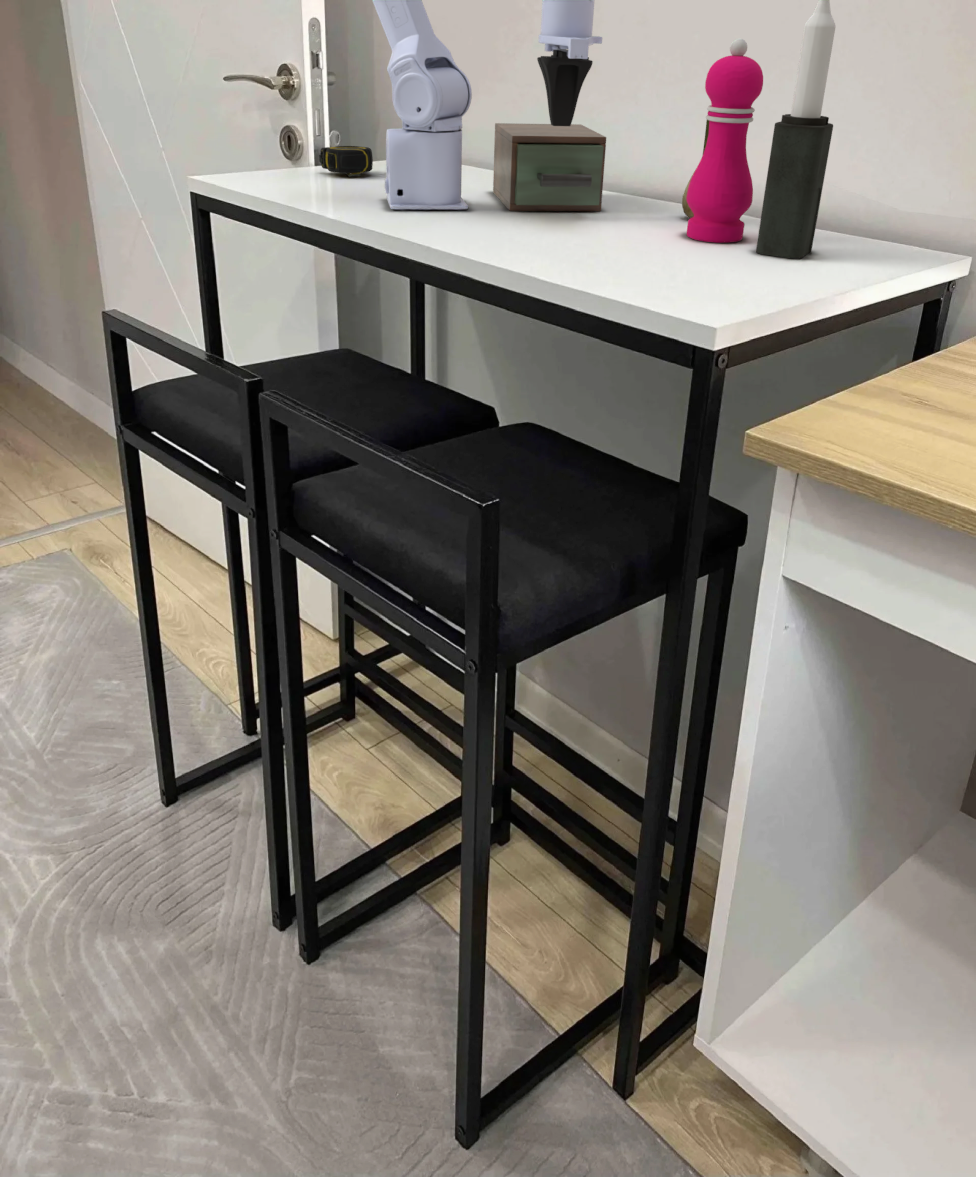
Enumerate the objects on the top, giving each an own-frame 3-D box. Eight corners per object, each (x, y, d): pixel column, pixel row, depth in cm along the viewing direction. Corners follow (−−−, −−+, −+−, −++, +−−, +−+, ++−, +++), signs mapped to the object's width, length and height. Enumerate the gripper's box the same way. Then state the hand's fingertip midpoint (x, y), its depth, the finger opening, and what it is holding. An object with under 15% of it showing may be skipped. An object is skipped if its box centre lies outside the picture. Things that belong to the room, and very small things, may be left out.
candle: (799, 259, 110) (845, -16, 98) (752, 253, 113) (792, -17, 100) (814, 251, 114) (860, -15, 102) (768, 245, 117) (808, -16, 104)
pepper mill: (708, 246, 115) (734, 40, 106) (669, 233, 121) (690, 36, 111) (760, 241, 118) (790, 40, 109) (719, 229, 124) (744, 37, 114)
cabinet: (600, 211, 132) (606, 137, 128) (509, 211, 131) (512, 135, 126) (577, 193, 144) (581, 124, 140) (492, 192, 142) (494, 123, 138)
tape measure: (364, 171, 156) (363, 143, 154) (379, 177, 151) (378, 149, 149) (319, 172, 154) (318, 144, 152) (333, 179, 148) (331, 150, 146)
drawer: (607, 211, 127) (612, 150, 124) (522, 211, 126) (524, 150, 122) (576, 188, 141) (580, 133, 138) (500, 188, 140) (502, 132, 137)
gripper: (621, -8, 109) (609, 133, 116) (590, -9, 122) (581, 119, 129) (554, -11, 108) (546, 132, 115) (529, -12, 121) (524, 118, 128)
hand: (560, 125), depth 122 cm, fingers closed
